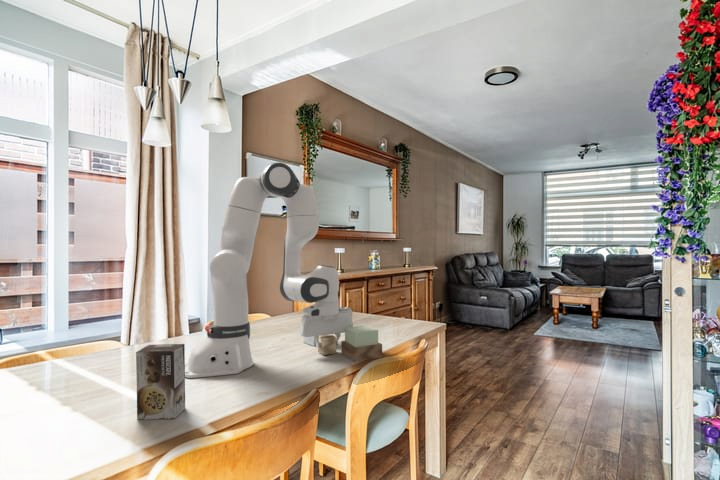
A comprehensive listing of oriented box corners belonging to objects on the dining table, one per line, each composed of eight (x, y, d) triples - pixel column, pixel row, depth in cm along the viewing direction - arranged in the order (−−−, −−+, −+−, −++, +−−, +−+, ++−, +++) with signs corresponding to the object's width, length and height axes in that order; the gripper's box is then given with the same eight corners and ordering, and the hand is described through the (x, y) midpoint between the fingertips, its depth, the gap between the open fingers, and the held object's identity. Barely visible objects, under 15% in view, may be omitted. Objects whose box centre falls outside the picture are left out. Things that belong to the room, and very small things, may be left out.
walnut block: (354, 362, 134) (354, 348, 134) (341, 354, 144) (341, 341, 144) (382, 358, 139) (382, 344, 139) (367, 350, 149) (367, 337, 149)
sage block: (355, 347, 136) (355, 332, 136) (345, 341, 144) (344, 327, 144) (378, 344, 139) (378, 330, 139) (366, 338, 148) (366, 325, 148)
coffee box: (186, 407, 98) (186, 343, 98) (175, 419, 91) (174, 350, 91) (149, 408, 97) (149, 343, 97) (135, 420, 91) (135, 351, 91)
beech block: (323, 355, 141) (323, 338, 141) (318, 351, 146) (318, 335, 146) (336, 353, 144) (336, 336, 144) (330, 350, 148) (330, 334, 148)
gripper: (348, 305, 152) (348, 341, 152) (298, 309, 143) (298, 347, 143) (355, 307, 147) (355, 344, 147) (304, 312, 137) (304, 351, 137)
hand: (327, 346), depth 145 cm, fingers closed on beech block, 5 cm apart
